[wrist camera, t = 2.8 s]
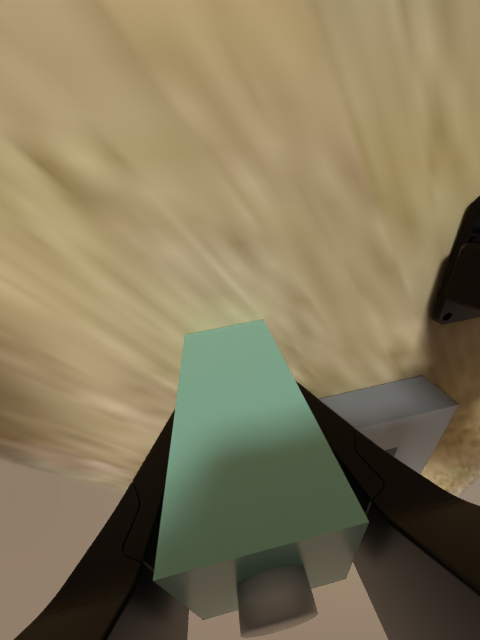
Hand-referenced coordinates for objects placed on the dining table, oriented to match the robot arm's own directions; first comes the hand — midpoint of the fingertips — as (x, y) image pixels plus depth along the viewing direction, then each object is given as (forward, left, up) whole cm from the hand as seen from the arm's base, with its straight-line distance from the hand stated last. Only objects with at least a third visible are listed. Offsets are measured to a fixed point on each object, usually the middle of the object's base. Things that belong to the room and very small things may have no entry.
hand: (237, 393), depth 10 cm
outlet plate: (-7, +11, -2) cm, 13 cm away
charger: (0, 0, -2) cm, 2 cm away
